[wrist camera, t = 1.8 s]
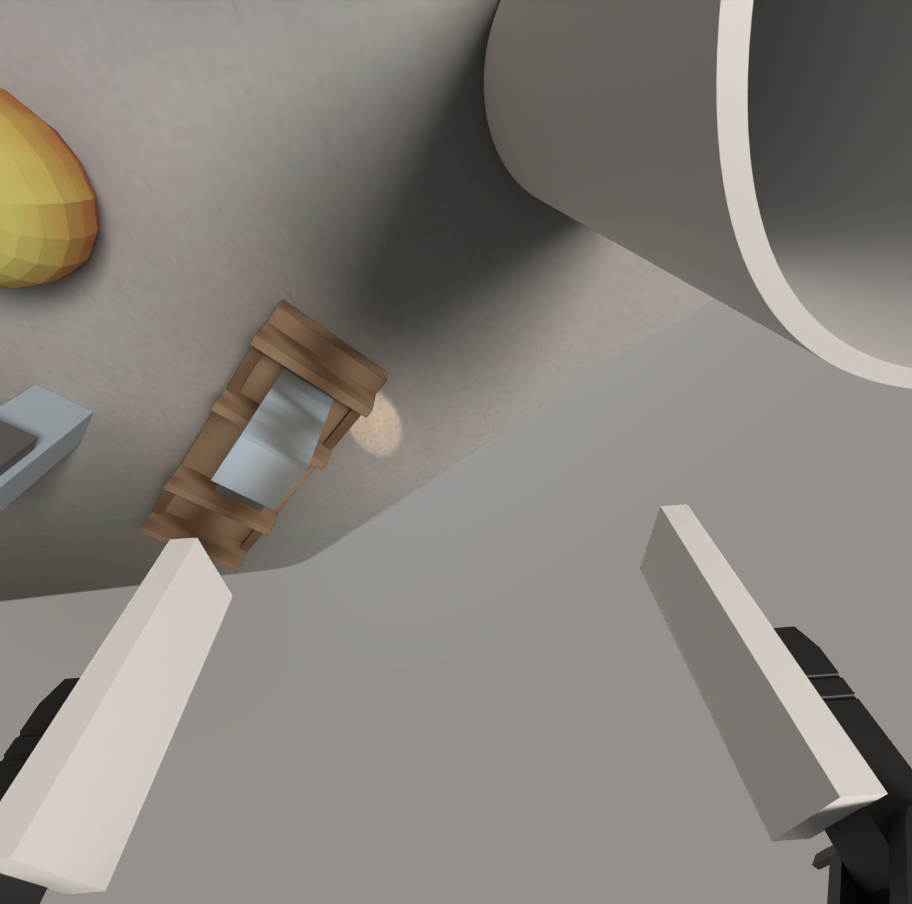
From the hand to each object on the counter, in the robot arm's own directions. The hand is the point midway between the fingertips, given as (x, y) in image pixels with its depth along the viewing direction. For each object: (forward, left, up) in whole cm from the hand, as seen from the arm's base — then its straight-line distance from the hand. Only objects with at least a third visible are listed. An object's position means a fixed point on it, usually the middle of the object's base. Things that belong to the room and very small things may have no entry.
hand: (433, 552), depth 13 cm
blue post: (-18, -26, -23) cm, 39 cm away
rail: (-4, -19, -23) cm, 30 cm away
